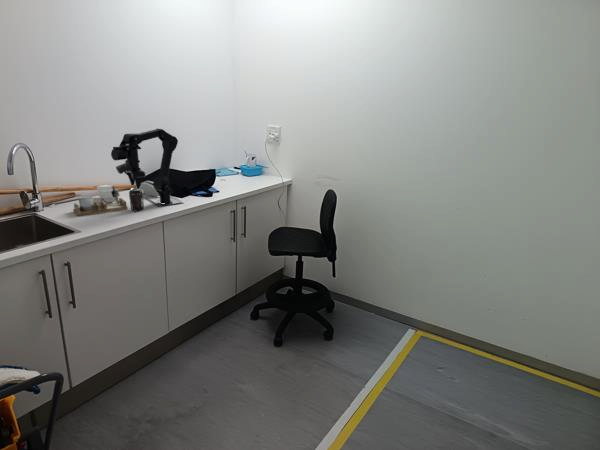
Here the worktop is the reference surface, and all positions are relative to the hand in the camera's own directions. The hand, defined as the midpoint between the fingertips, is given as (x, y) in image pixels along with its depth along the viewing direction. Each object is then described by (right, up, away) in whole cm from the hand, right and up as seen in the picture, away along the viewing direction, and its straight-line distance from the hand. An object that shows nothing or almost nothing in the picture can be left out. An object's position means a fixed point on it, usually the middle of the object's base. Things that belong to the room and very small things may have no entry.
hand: (135, 187), depth 218 cm
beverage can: (-1, -13, +4) cm, 13 cm away
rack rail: (-19, -13, +1) cm, 22 cm away
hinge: (-4, -2, +36) cm, 36 cm away
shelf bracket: (-22, -8, +18) cm, 29 cm away
